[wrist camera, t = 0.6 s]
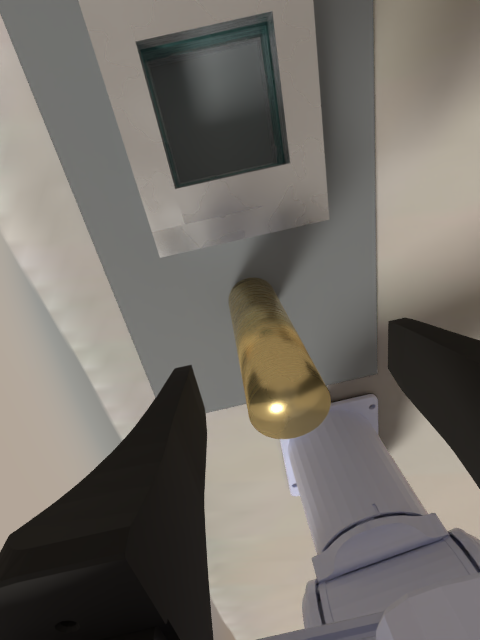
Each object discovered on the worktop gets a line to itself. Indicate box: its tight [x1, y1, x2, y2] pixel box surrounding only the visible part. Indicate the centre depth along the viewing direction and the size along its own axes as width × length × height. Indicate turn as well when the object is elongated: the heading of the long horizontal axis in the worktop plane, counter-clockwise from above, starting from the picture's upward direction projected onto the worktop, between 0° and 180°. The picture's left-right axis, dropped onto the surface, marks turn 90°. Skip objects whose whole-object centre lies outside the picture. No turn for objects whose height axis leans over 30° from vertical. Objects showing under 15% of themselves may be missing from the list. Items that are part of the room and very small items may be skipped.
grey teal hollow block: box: [78, 0, 329, 258], centre depth 14 cm, size 13×8×4 cm, turn 11°
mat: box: [0, 0, 377, 413], centre depth 19 cm, size 26×16×1 cm, turn 11°
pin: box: [228, 278, 331, 439], centre depth 16 cm, size 3×3×10 cm
